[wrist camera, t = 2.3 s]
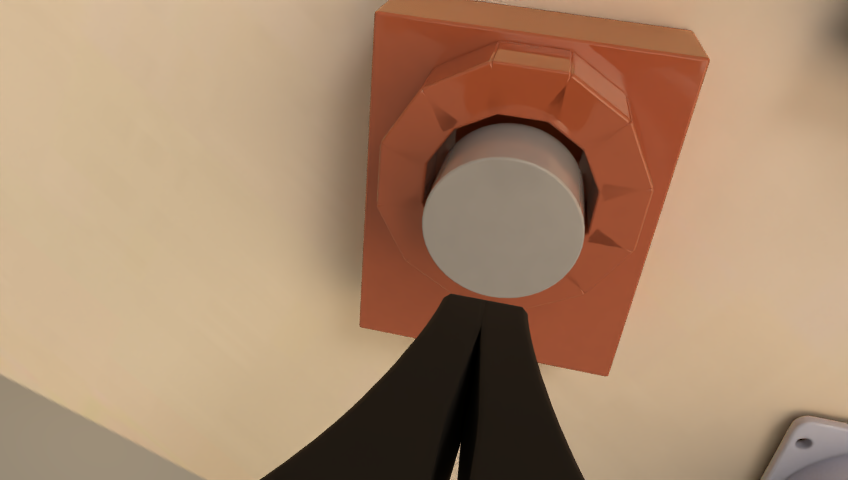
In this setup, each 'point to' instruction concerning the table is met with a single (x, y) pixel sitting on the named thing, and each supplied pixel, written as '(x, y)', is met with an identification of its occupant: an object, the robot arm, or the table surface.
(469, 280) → the gray push button
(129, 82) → the table surface
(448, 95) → the orange knob plate
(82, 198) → the table surface
